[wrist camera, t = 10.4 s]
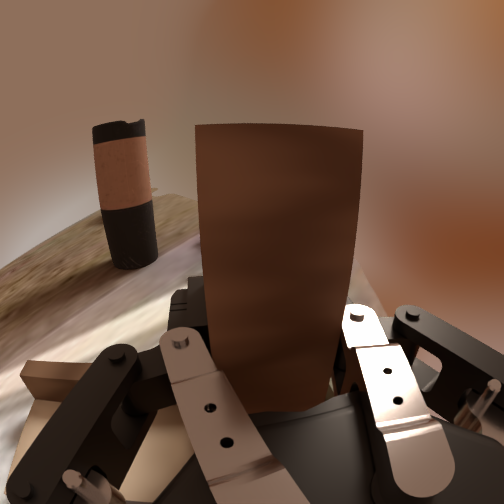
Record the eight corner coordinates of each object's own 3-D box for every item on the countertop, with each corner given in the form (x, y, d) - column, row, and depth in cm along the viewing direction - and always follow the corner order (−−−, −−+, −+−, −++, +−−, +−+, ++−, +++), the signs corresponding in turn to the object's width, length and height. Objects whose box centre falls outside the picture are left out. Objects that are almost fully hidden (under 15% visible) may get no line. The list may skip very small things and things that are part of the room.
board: (22, 506, 7) (-22, 473, 6) (52, 401, 16) (27, 360, 15) (379, 498, 10) (409, 467, 8) (324, 383, 19) (332, 338, 18)
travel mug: (117, 252, 44) (100, 128, 37) (162, 247, 46) (148, 120, 38) (106, 272, 37) (83, 127, 30) (157, 267, 39) (140, 116, 31)
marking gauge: (215, 506, 9) (133, 125, 4) (205, 412, 15) (172, 132, 9) (332, 485, 10) (439, 139, 5) (298, 400, 16) (323, 131, 10)
